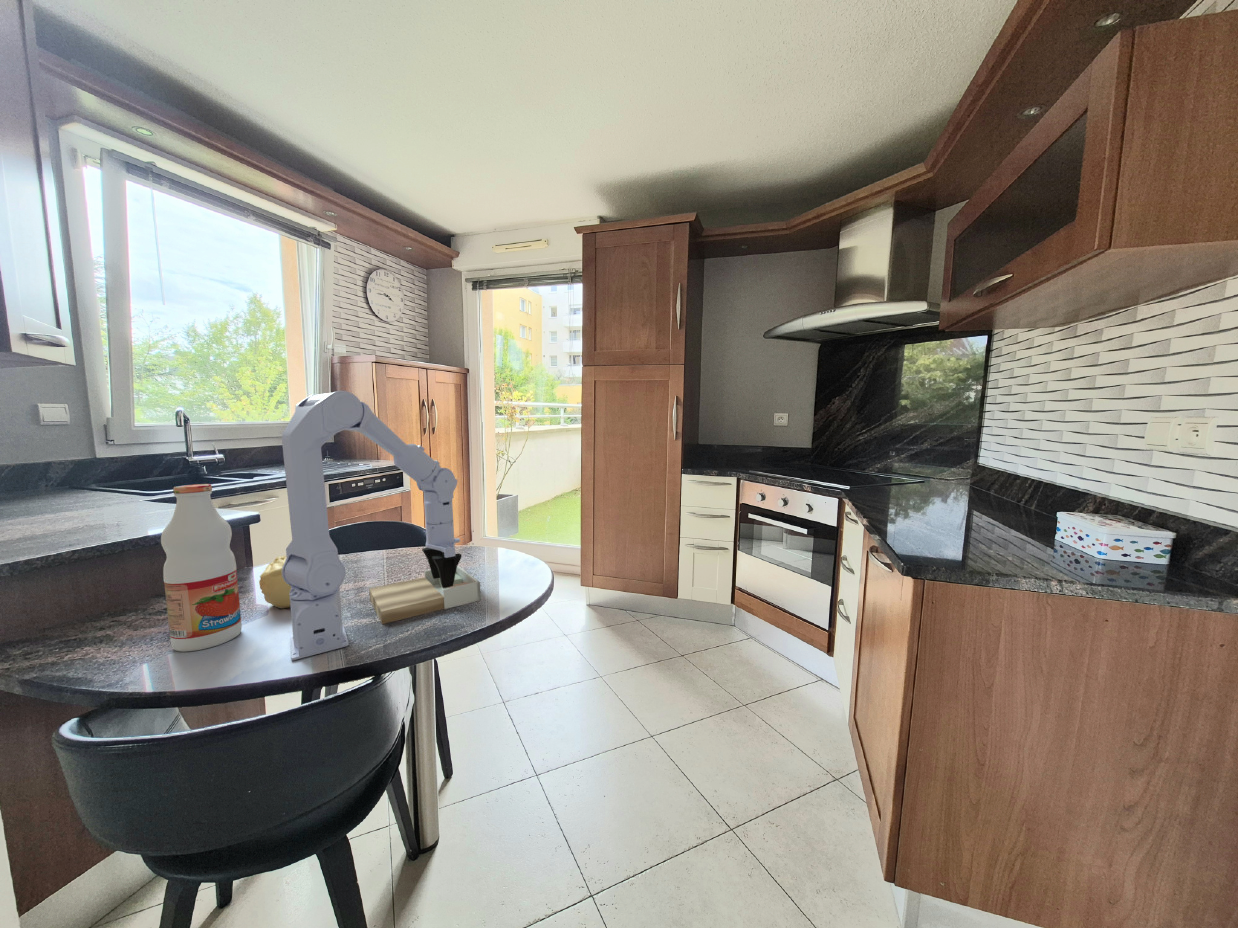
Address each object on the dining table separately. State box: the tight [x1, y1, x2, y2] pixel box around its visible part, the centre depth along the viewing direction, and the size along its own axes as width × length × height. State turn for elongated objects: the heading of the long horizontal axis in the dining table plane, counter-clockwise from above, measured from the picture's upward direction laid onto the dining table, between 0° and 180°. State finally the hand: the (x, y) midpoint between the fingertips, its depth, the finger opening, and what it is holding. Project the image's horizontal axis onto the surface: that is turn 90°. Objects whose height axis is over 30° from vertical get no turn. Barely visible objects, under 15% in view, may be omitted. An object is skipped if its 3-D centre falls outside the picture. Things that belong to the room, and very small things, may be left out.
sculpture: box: [258, 555, 291, 609], centre depth 97 cm, size 12×12×11 cm
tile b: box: [439, 573, 462, 589], centre depth 104 cm, size 5×4×2 cm
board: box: [368, 576, 445, 625], centre depth 95 cm, size 16×12×2 cm
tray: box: [424, 565, 482, 610], centre depth 100 cm, size 16×8×4 cm, turn 36°
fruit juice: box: [160, 483, 243, 653], centre depth 79 cm, size 9×9×28 cm
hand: (442, 582), depth 99 cm, fingers open, 7 cm apart
